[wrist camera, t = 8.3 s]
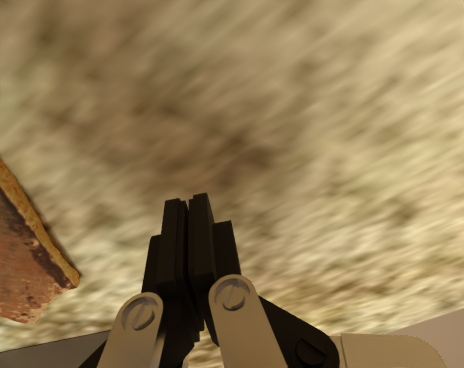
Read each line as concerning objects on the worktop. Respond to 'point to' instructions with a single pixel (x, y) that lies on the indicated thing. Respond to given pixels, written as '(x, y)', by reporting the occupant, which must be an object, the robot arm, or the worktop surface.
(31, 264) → the shard
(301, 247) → the worktop surface
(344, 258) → the worktop surface
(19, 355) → the grey u-shaped bracket
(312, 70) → the worktop surface
